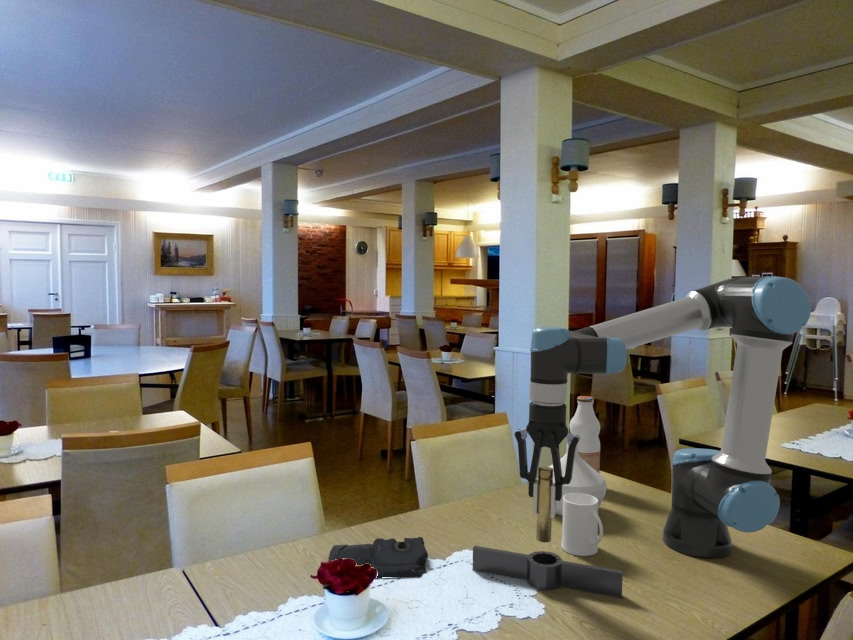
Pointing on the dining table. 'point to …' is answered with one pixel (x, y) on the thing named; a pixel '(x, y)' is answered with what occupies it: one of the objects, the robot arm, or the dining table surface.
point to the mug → (580, 524)
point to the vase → (581, 480)
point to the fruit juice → (587, 432)
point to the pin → (544, 504)
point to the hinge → (548, 571)
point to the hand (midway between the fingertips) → (544, 513)
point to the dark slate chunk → (387, 556)
